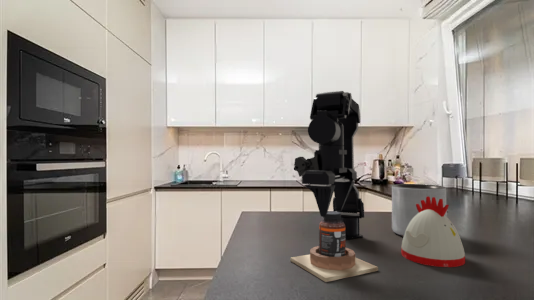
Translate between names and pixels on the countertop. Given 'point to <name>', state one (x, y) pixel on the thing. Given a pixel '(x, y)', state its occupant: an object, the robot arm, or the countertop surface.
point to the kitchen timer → (432, 237)
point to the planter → (411, 202)
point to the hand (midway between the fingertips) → (331, 213)
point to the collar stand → (333, 265)
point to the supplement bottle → (332, 235)
